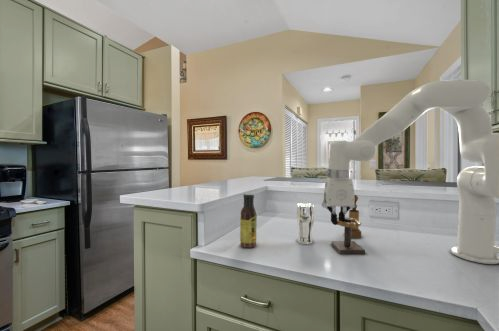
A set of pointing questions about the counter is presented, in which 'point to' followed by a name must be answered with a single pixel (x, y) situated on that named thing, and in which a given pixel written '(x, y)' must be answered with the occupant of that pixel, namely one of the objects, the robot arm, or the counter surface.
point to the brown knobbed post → (355, 215)
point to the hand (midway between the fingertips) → (337, 223)
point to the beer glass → (305, 222)
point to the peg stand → (347, 243)
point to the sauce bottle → (248, 222)
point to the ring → (354, 223)
